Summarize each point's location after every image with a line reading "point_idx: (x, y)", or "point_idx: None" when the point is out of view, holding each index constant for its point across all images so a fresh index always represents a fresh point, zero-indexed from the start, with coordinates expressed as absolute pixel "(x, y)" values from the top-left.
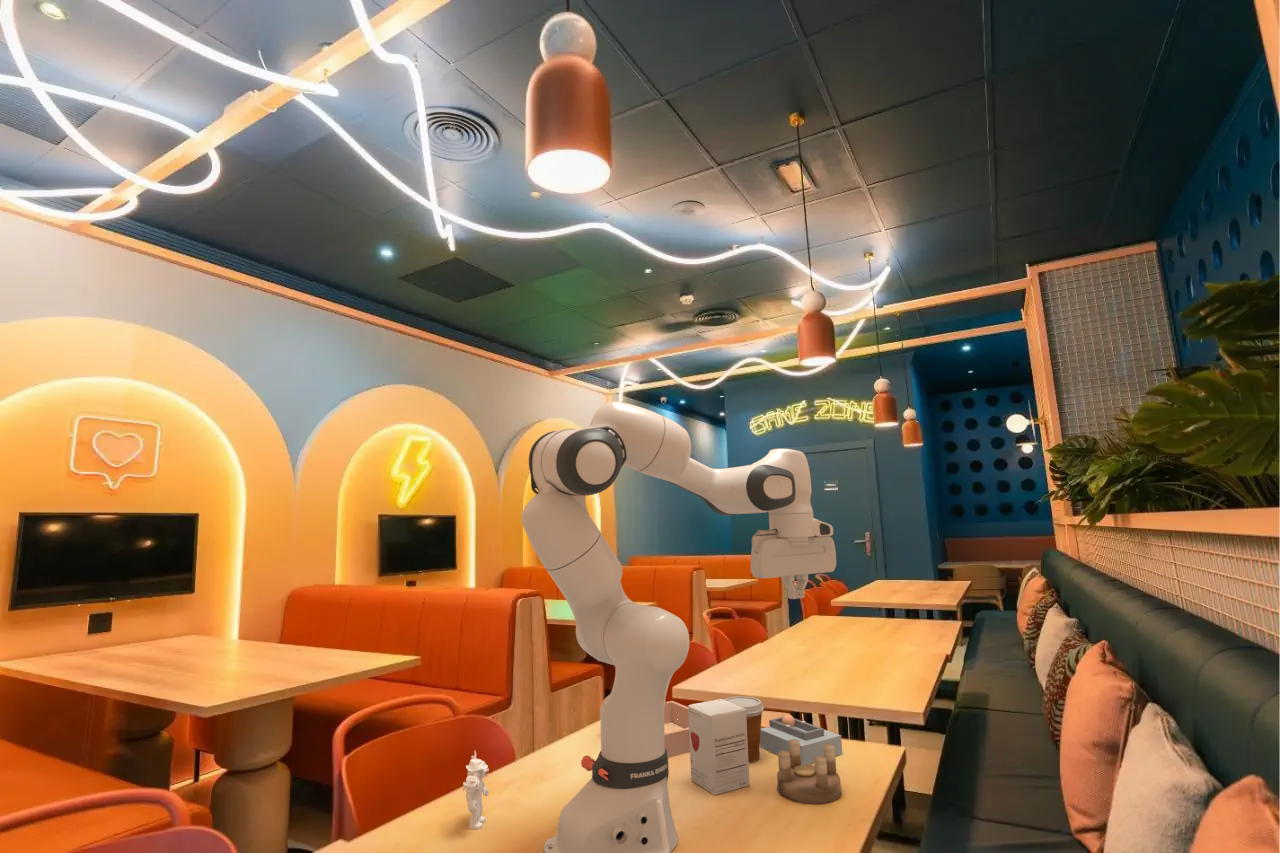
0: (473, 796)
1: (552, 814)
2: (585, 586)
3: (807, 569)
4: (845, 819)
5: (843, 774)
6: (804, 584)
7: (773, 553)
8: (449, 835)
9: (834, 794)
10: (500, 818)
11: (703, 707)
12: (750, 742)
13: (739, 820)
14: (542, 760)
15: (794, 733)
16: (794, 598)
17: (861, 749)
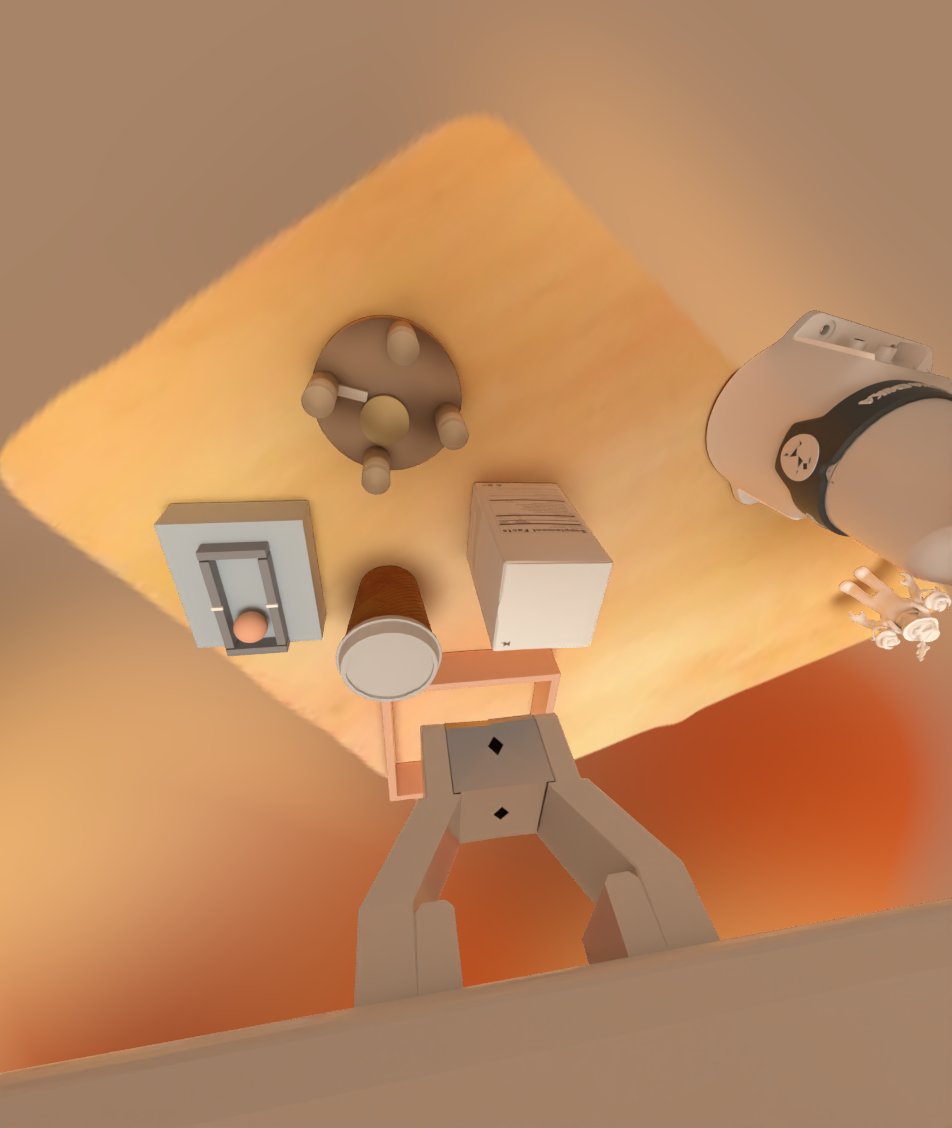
0: (899, 596)
1: (778, 557)
2: None
3: (422, 1102)
4: (424, 223)
5: (249, 415)
6: (426, 844)
7: None
8: (894, 568)
9: (374, 317)
10: (825, 579)
11: (581, 616)
12: (397, 586)
13: (600, 371)
14: (658, 710)
15: (273, 577)
16: (543, 714)
17: (98, 502)
